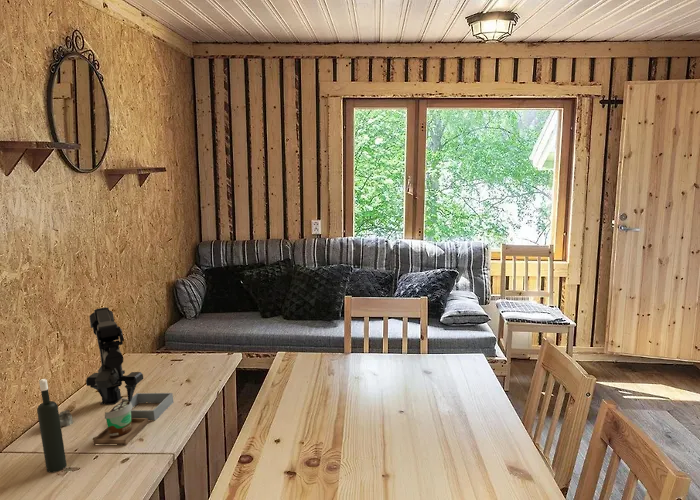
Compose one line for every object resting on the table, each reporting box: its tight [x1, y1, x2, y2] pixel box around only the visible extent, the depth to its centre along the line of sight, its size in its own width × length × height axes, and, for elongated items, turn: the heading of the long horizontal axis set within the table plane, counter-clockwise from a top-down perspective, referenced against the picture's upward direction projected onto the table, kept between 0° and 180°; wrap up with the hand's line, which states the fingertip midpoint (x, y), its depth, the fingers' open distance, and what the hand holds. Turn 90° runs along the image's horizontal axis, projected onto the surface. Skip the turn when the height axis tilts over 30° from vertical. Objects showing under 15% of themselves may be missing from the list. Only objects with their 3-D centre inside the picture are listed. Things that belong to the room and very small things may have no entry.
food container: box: [104, 398, 134, 438], centre depth 200 cm, size 12×6×10 cm, turn 173°
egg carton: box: [59, 409, 74, 428], centre depth 211 cm, size 11×8×4 cm
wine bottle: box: [36, 378, 67, 473], centre depth 178 cm, size 6×6×30 cm
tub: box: [130, 392, 174, 422], centre depth 218 cm, size 15×16×4 cm
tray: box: [92, 418, 150, 446], centre depth 201 cm, size 12×16×2 cm
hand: (117, 401), depth 199 cm, fingers open, 9 cm apart
